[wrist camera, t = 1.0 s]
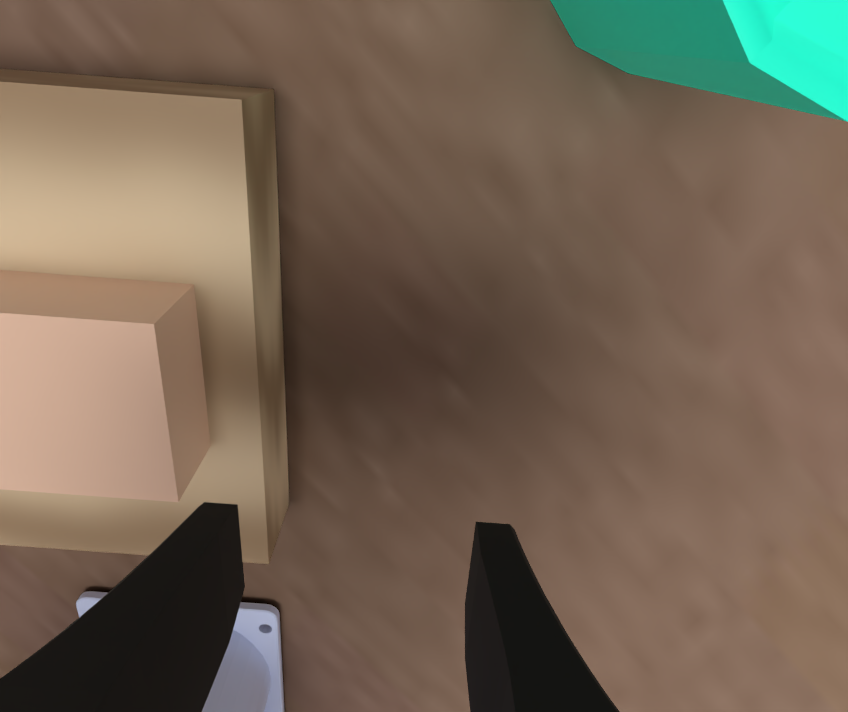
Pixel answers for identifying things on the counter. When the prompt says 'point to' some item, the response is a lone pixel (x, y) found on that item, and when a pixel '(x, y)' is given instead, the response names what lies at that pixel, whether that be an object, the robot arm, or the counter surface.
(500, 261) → the counter surface
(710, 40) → the candle
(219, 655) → the robot arm
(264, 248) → the board
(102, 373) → the terracotta tile
